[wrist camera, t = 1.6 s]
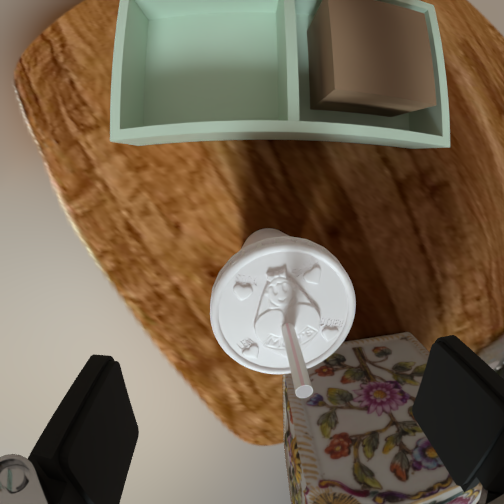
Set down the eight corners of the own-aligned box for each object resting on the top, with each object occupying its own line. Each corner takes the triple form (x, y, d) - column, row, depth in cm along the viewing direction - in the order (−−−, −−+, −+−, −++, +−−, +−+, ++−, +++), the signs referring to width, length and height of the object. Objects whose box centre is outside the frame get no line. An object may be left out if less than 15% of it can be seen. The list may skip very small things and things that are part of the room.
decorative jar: (411, 327, 25) (536, 474, 7) (390, 420, 28) (455, 555, 10) (276, 345, 25) (314, 566, 7) (279, 439, 28) (299, 601, 10)
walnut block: (385, 42, 18) (424, 13, 12) (391, 117, 20) (436, 105, 14) (306, 31, 18) (326, -9, 12) (310, 109, 19) (334, 89, 14)
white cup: (234, 304, 23) (227, 456, 10) (212, 220, 22) (164, 308, 8) (319, 284, 23) (396, 416, 10) (303, 199, 22) (395, 254, 8)
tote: (402, 28, 18) (433, 5, 13) (412, 148, 21) (450, 147, 16) (143, 18, 18) (122, -12, 13) (138, 145, 20) (110, 141, 15)
